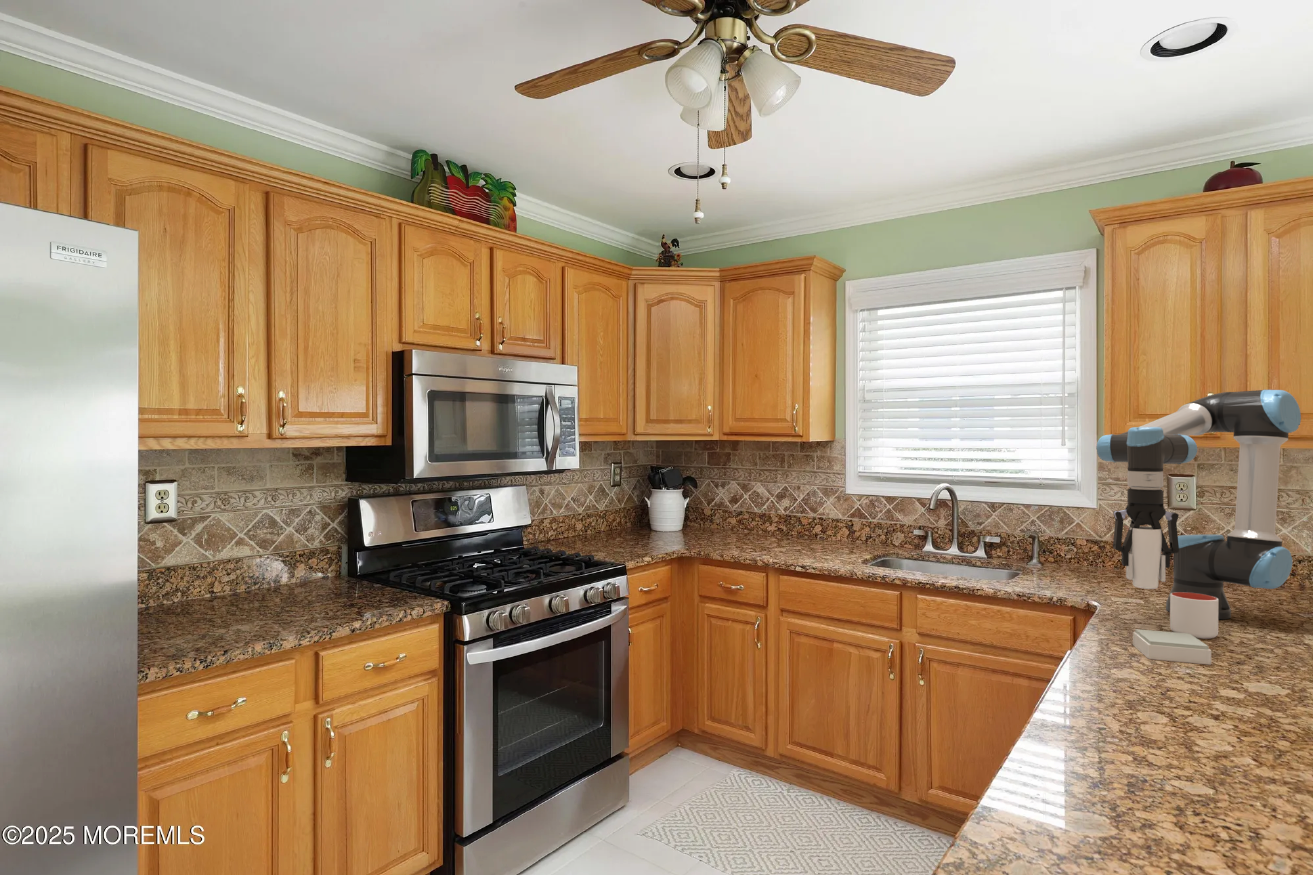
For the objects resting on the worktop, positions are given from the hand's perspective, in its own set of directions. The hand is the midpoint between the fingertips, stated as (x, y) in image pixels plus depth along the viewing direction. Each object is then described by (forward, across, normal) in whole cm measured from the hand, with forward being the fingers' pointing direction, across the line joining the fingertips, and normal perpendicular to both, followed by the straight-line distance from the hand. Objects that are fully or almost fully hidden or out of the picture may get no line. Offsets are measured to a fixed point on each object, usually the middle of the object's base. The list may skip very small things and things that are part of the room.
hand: (1145, 579), depth 180 cm
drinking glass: (+2, 0, 0) cm, 2 cm away
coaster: (+15, +2, -12) cm, 20 cm away
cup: (+16, +14, +11) cm, 23 cm away
